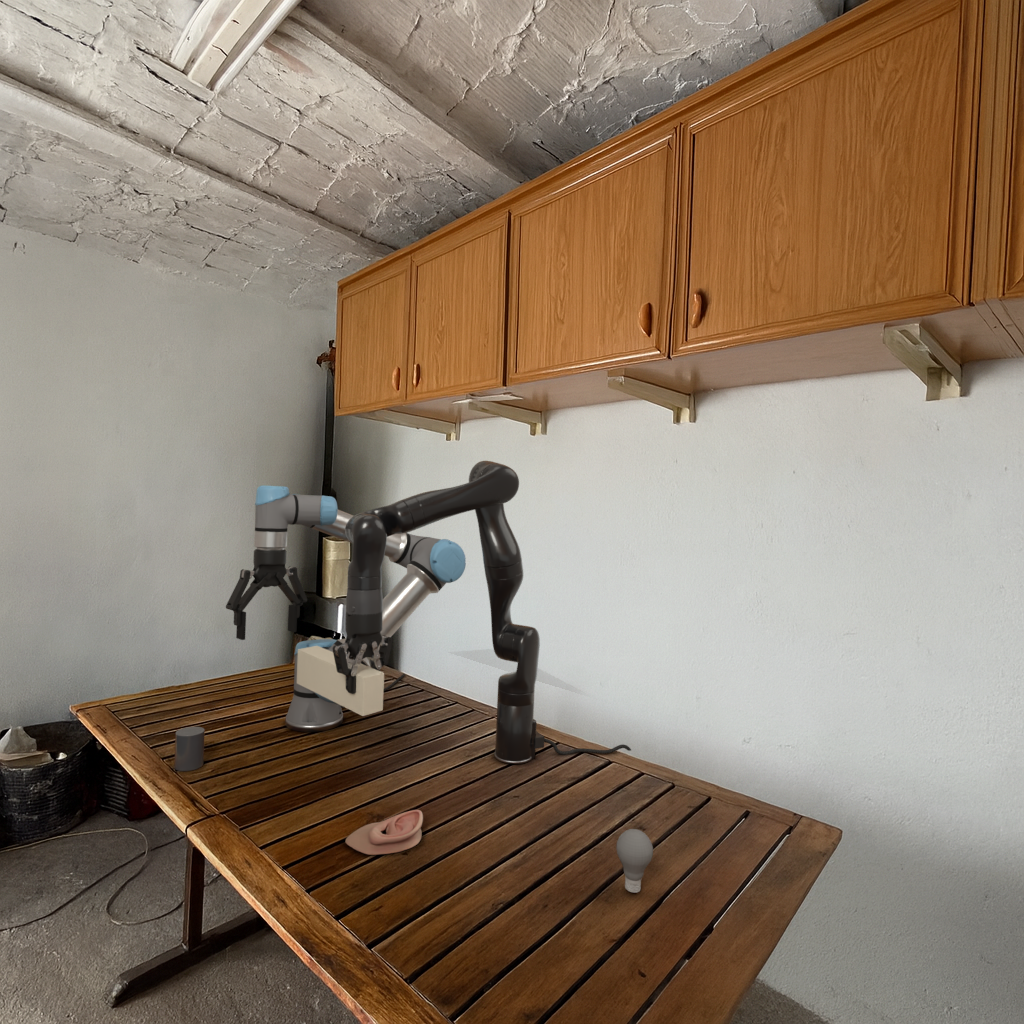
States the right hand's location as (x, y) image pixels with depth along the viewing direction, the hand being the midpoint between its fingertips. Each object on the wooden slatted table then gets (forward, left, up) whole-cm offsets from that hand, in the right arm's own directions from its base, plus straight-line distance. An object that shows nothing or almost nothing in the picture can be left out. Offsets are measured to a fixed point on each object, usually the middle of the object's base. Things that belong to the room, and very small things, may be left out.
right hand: (362, 689), depth 133 cm
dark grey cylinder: (+32, -31, -23) cm, 50 cm away
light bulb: (-34, +49, -23) cm, 64 cm away
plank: (+3, -9, -4) cm, 10 cm away
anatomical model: (-1, +17, -23) cm, 29 cm away
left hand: (+15, -34, +5) cm, 37 cm away
